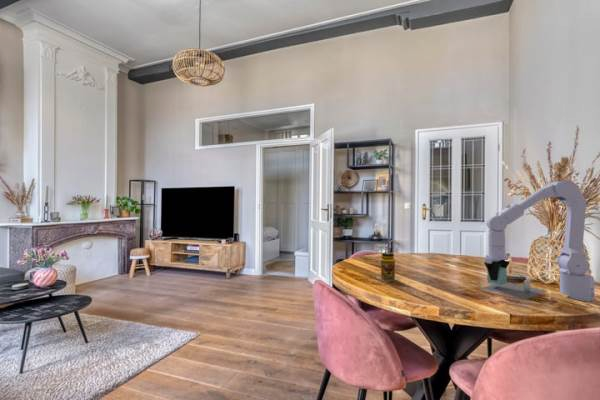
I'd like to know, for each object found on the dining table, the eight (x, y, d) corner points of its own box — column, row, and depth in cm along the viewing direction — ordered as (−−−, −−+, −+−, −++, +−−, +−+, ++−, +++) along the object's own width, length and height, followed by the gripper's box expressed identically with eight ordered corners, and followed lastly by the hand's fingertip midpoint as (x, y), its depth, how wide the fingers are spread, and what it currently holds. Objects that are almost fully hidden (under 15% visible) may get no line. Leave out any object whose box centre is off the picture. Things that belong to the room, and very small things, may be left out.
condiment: (387, 281, 136) (387, 255, 136) (374, 277, 144) (374, 252, 144) (399, 279, 140) (399, 253, 140) (386, 276, 147) (386, 251, 147)
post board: (546, 293, 119) (546, 280, 119) (527, 301, 109) (527, 287, 109) (501, 284, 132) (501, 272, 132) (480, 290, 122) (480, 278, 122)
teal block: (506, 283, 123) (506, 268, 123) (501, 285, 120) (500, 269, 120) (493, 280, 127) (493, 266, 127) (487, 282, 124) (487, 267, 124)
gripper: (494, 243, 131) (494, 275, 131) (477, 245, 123) (477, 279, 123) (513, 245, 125) (513, 278, 125) (496, 248, 117) (496, 283, 117)
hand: (497, 279), depth 124 cm, fingers closed on teal block, 5 cm apart
